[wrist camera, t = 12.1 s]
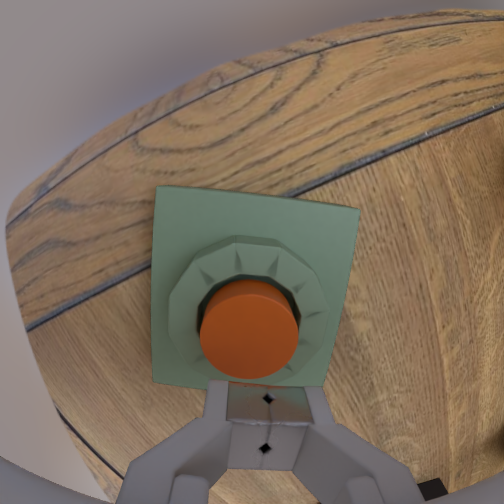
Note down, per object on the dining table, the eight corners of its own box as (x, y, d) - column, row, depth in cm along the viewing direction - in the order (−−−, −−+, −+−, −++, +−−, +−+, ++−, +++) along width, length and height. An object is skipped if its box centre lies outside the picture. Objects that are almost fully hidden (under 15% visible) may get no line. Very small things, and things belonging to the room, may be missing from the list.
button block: (161, 361, 17) (144, 403, 13) (167, 184, 15) (142, 186, 11) (312, 374, 18) (327, 417, 14) (345, 205, 15) (377, 213, 12)
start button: (202, 352, 13) (197, 375, 11) (207, 274, 12) (202, 288, 11) (284, 359, 13) (290, 382, 12) (298, 283, 12) (306, 298, 11)
